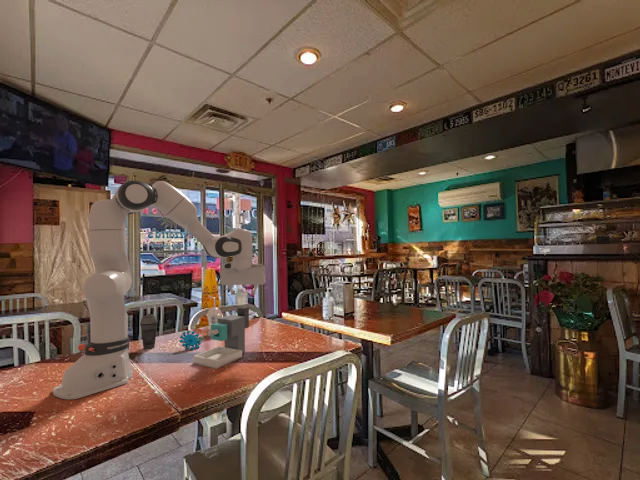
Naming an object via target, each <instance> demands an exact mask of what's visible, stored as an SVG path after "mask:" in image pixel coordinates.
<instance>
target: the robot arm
mask: <svg viewBox="0 0 640 480" xmlns="http://www.w3.org/2000/svg"><path fill="white" fill-rule="evenodd" d="M148 207H152V208H155V209H157V210H159V211H160V213H162V214H164V216H165V217H166V218H167V219H169V220H171V221H172V222H173V223H175V224H176V225H178V226H180V227H181V228H183V230H185V231H187V232H188V233H189V234H190V235H191V236H192V237H194V238H195V239H196V240H197V241H198V242H199V243H200V244H201V246H203V248H204V251H205V253H206V254H207V256H209V257H211V258H213V259H226V258H227V259H228V258H231V257H232V260H231V261H228V262H225V263H223V264H222V265H221V266H222V267H221V268H222V270H221V272H220V276H219V277H220V278H219V281H220V282H219V283H220V285H222V286H228V290H230V295H231V296H233V295H234V296H235V295H236V290H234V288H233V286H244V285H245V286H247V285H249V286H250V285H251V286H253V287H254V288H253V290H251V295H253V296H255V295H256V293H257V292H256V291H257V289H258V288H259V285H260V286H261V285H265V283H266V282H267V281H266V273H267V272H266V266H265V265H264V264H262V263H254V259H253V258H254V256H253V248H254V247H253V238H252V237H253V236H252V233H251V231H250V230H248V229H246V228H240V227H239V228H234V229H233V230H232V231H229V232H228V233H226V234H223V235H220V236H218V235H216V234H215V235H214V234H213V233H211V232H210V231H209V229H207V227H205V226H204V225H203V224H202V223H201V221H199V218H198V208H197V207H196V205H195V204H194V203H193V201H191V199H189V197H187V195H185V194H184V193H183V192H182V191H180V190H179V189H178V188H176V187H175V186H173V185H172V184H170V183H169V182H168V181H165V180H158V181H156V182H154V183H153V184H152V183H151V184H150V183H146V182H143V181H140V180H136V179H135V180H128V181H125V182H123V183H122V184H121V185H120V186H119V187H118V188H117V189H116V191H115V193H114V195H113V196H112V198H109V199H107V198H106V199H100V200H97V201H94V202H93V203H92V204H91V205H90V211H89V214H88V215H89V216H88V249H89V255H90V257H91V259H92V263H93V266H94V271H95V272H94V273H92V274H91V275H90V276H89V277H88V278H87V279H86V280H85V282H84V283H83V285H82V294H83V295H84V297H85V299H86V304H87V308H88V313H89V320H90V340H89V342H88V343H87V344H84V343H81V344H78V346H77V350H79V351H84V354H83V355H82V356H80V357H79V358H78V359H77V360H76V361H75V362H74V363H72V364H71V365H70V366H69V367H68V368H67V369H66V370H65V371H64V373H63V375H62V379H61V384H60V385H57V386H54V387H53V389H52V394H53V396H54V397H56V398H59V399H62V400H77V399H80V398H84V397H87V396H91V395H93V394H96V393H99V392H103V391H106V390H109V389H113V388H115V387H116V388H117V387H119V386H124V385H125V384H127V383H128V382H129V379H130V378H132V377H133V375H134V373H133V370H132V367H131V361H130V355H129V350H130V336H129V334H128V333H129V332H128V331H129V329H128V327H129V323H128V322H129V314H128V313H127V312H128V311H127V309H126V302H125V294H127V293H128V292H129V291H130V289H131V287H132V283H133V279H132V275H131V267H130V263H129V258H128V250H127V231H126V221H127V219H126V218H127V216H128V215H132V214H136V213H138V212H141V211H142V212H143V210H145V209H146V208H148Z"/></svg>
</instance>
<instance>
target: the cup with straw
mask: <svg viewBox="0 0 640 480" xmlns="http://www.w3.org/2000/svg"><path fill="white" fill-rule="evenodd" d="M208 297H209V298H211V299H213V307H211V308H210V309H208V311H207V313H206V315H205V316H206V317H207V322H208V328H209V331H211V325H212V324H215V323H218V318H221V317H222V316H224V315H223V312H222V311H221V309H220V308H218V307H216V297H214V296H212V295H208Z"/></svg>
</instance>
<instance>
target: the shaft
mask: <svg viewBox="0 0 640 480" xmlns="http://www.w3.org/2000/svg"><path fill="white" fill-rule="evenodd" d="M249 308H250V307H248V306H239V307H237V316H244V317H245V329H248V328H249V327H250V320H249V319H250V313H249V311H250V309H249ZM206 334H207V335H206V336H207V337H210V338H211V336H213V335H216V334H219V329H215V330H212V331H210V330H209V331H207V332H206Z"/></svg>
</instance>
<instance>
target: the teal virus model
mask: <svg viewBox="0 0 640 480" xmlns="http://www.w3.org/2000/svg"><path fill="white" fill-rule="evenodd" d="M190 333H191V334H190ZM199 336H200V335H199V333H196V334H195V331H194V330H192V331H190V330H187V331H183V332H182V333H181V335H180V336H179V343H180V344H181V347H183V348H184V347H185V349H186V350H192V351H194V350H195V349H199V348H200V345H201V344H202V342H201V341H203V339H204V337H203V336H200V337H199ZM190 348H191V349H190Z"/></svg>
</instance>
